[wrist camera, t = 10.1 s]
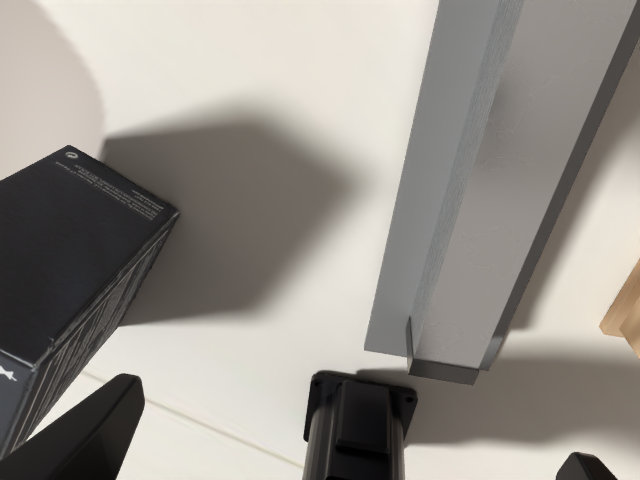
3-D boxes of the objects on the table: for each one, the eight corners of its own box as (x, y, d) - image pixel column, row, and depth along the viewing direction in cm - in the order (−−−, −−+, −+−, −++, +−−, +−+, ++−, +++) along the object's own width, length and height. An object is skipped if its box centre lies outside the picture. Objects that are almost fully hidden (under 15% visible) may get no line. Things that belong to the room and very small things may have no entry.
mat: (486, 365, 24) (488, 370, 24) (364, 345, 25) (364, 350, 24) (808, -358, 11) (821, -368, 10) (522, -379, 11) (527, -391, 11)
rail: (462, 339, 23) (473, 385, 20) (405, 329, 23) (408, 374, 21) (691, -256, 11) (782, -325, 9) (572, -266, 12) (627, -336, 9)
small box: (62, 134, 20) (-188, 256, 11) (185, 208, 22) (47, 370, 13) (17, 276, 25) (-178, 437, 17) (118, 329, 27) (-13, 504, 18)
